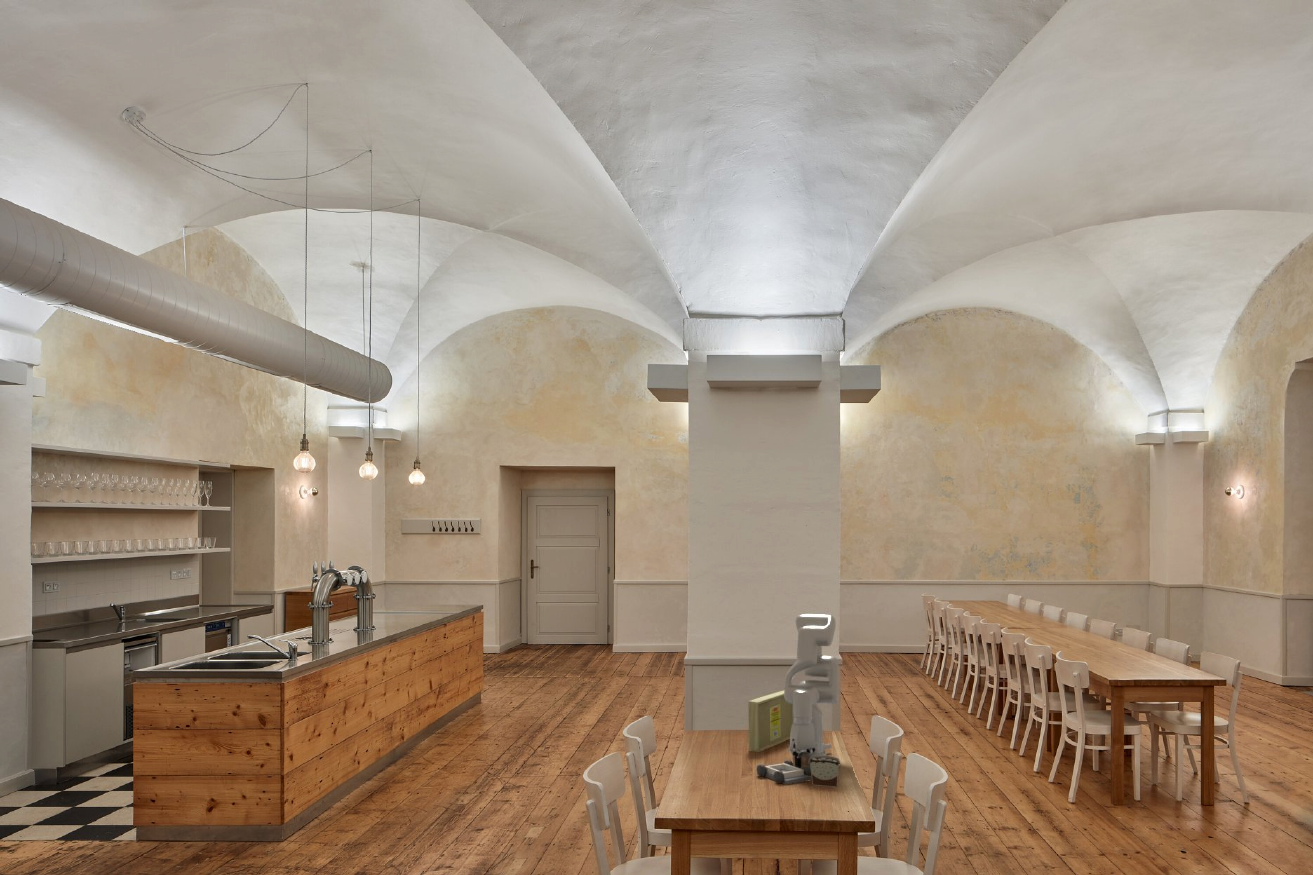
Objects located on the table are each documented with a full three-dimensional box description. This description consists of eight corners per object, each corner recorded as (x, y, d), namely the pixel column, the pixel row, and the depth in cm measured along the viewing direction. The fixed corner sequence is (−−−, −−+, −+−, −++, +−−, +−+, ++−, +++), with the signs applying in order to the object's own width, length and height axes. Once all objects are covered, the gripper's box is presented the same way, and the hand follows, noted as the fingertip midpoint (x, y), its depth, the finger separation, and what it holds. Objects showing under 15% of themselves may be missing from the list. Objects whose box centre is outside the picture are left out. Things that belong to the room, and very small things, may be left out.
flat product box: (785, 736, 438) (784, 689, 440) (794, 738, 435) (793, 690, 437) (748, 750, 409) (748, 700, 411) (757, 752, 406) (757, 701, 409)
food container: (843, 783, 356) (842, 756, 357) (841, 787, 351) (840, 760, 352) (811, 780, 360) (810, 754, 361) (808, 784, 355) (808, 757, 356)
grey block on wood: (802, 764, 382) (802, 749, 382) (813, 768, 376) (813, 753, 376) (793, 766, 379) (792, 751, 379) (804, 770, 373) (803, 755, 373)
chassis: (784, 769, 377) (784, 758, 377) (813, 779, 361) (813, 768, 362) (754, 774, 369) (754, 763, 369) (783, 785, 354) (783, 773, 354)
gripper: (812, 716, 386) (813, 761, 385) (780, 721, 378) (781, 767, 376) (824, 719, 380) (825, 765, 378) (792, 724, 371) (793, 771, 370)
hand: (803, 765), depth 377 cm, fingers closed on grey block on wood, 5 cm apart
